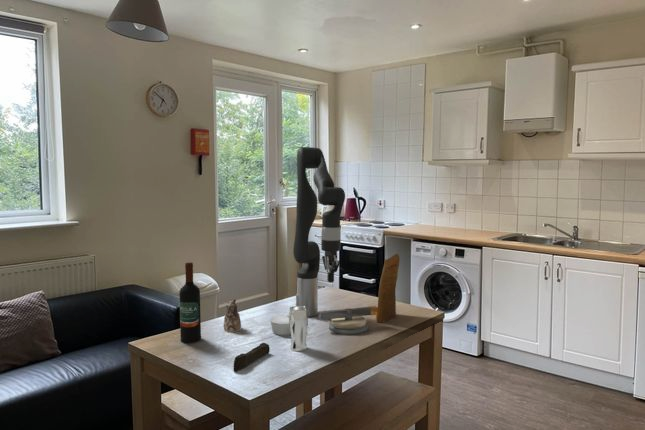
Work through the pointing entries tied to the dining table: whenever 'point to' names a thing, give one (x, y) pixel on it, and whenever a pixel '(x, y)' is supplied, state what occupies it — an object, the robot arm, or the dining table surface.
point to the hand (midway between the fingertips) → (330, 281)
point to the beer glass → (298, 327)
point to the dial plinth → (348, 332)
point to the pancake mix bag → (388, 290)
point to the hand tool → (250, 356)
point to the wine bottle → (190, 309)
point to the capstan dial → (348, 317)
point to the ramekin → (280, 325)
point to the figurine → (232, 318)
